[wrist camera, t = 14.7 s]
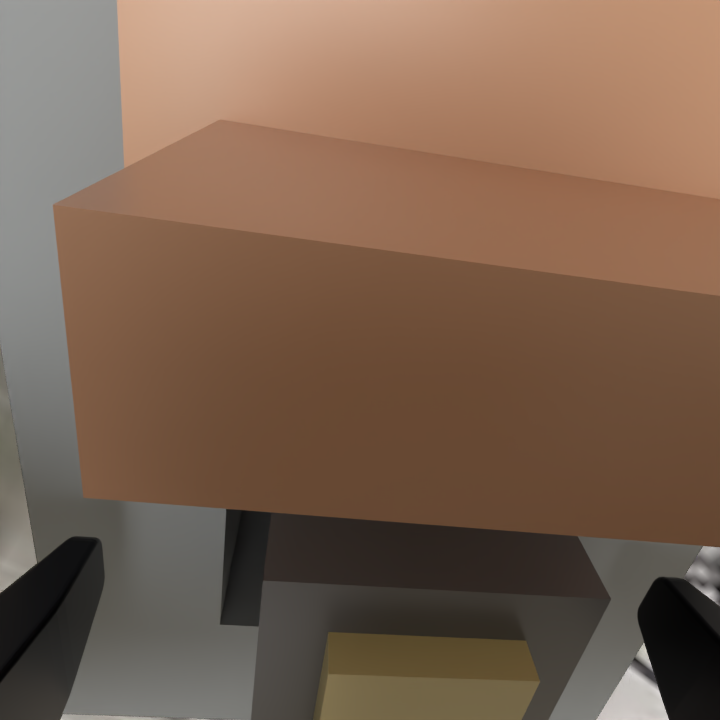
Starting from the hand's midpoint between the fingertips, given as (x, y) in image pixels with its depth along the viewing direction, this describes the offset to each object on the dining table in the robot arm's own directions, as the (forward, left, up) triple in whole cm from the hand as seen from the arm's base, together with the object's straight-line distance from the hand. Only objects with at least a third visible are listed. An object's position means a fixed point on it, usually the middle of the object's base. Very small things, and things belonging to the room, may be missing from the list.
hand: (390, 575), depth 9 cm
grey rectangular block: (0, 0, -5) cm, 5 cm away
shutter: (+7, 0, -1) cm, 7 cm away
